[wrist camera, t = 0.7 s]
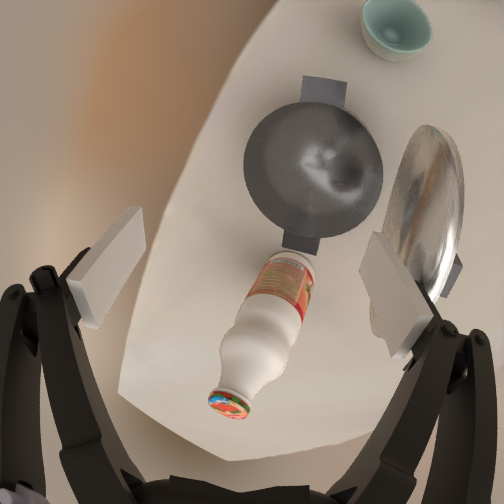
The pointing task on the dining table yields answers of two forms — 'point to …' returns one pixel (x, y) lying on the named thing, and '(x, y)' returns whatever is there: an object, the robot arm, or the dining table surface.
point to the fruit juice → (262, 333)
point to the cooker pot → (313, 166)
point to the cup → (395, 28)
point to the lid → (427, 213)
